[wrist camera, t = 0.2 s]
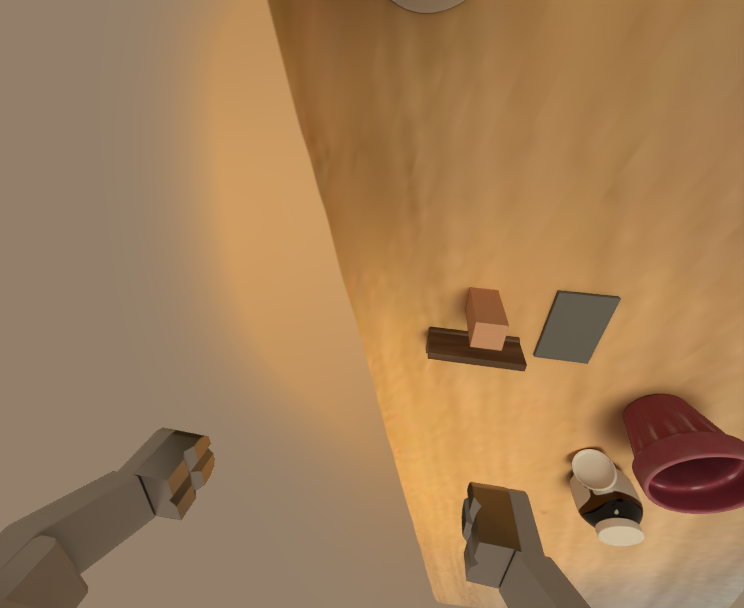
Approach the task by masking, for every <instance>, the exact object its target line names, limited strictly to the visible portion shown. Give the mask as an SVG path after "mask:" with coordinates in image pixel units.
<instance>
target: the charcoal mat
mask: <svg viewBox="0 0 744 608" xmlns="http://www.w3.org/2000/svg"><path fill="white" fill-rule="evenodd" d="M620 300H621V298H620V297H618V296H608V295H598V294H588V293H579V292H569V291H559V290H558V292H557V294H556V297H555V300H554V302H553V305H552V307H551V310H550V313H549V315H548V318H547V320H546V323H545V326H544V328H543V331H542V333H541V336H540V339H539V341H538V344H537V346H536V349H535V352H534V354H533V355H534V357H539V358H547V359H555V360H563V361H571V362H579V363H586V364H588V362H589V360H590V358H591V356H592V354H593V352H594V350H595V348H596V346H597V344H598V342H599V341H600V339H601V337H602V335H603V333H604V331H605V329H606V327H607V325H608V323H609V321H610V319H611V317H612V315H613V313H614V311H615V309H616V307H617V305H618V303H619V301H620Z"/></svg>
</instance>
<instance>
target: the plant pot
mask: <svg viewBox="0 0 744 608" xmlns="http://www.w3.org/2000/svg"><path fill="white" fill-rule="evenodd" d="M624 421H625V425H626V428H627V432H628V436H629V439H630V443H631V447H632V451H633V454H634V460H633V463H632V469H633V473H634V475H635V477H636V479H637V481H638V482H639V484H640V486H641V488H642V490H643V491H644V493H645V495H646V496H647V497H648V498H649V499H650V500H651V501H652V502H653V503H655V504H656V505H658V506H660V507H663V508H665V509H668V510H671V511H676V512H681V513H690V514H710V513H718V512H725V511H730V510H734V509H737V508H740V507H743V506H744V442H743V441H742V440H740V439H738V438H736V437H733V436H731V435H727V434H725V433H724V432H723V431H722V430H721V429H719V428H718V427H717V426H716V425H714V424H713V423H712V422H711V421H709V420H708V419H707V418H705V417H704V416H703V415H702V414H700V413H699V412H698V411H696V410H695V409H694V408H693V407H691V406H690V405H689V404H687V403H686V402H685V401H684V400H682V399H681V398H679V397H676V396H673V395H668V394H656V395H650V396H646V397H643V398H640V399H638V400H636V401H634V402H633V403H631V404H630V405H629V406H628V407H627V408H626V410H625V412H624Z"/></svg>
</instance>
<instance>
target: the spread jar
mask: <svg viewBox="0 0 744 608" xmlns="http://www.w3.org/2000/svg"><path fill="white" fill-rule="evenodd" d="M572 470H573V473H572V476H571V479H570V488H571V492H572V496H573V499H574V502H575V504H576V507H577V509H578V512H579V513H580V515H581V517H582V518H583V519H584V520H585V521H586V522H588V523H589V524H590V525H591V526H593V527H594V528H595V530H596V533H597V535H598V538H599V539H600V540H601V541H602V542H604V543H606V544H609V545H613V546H631V545H635V544H638V543H640V542H641V541H642V540H643V539H644V534H643V531H642V529H641V527H640V525H639V524H640V522H641V520H642V517H643V507H642V503H641V501H640V499H639V496H638V494H637V492H636V490H635V488H634V486H633V484H632V483H631V481H630V479H629V478H628V477H627V476H626V475H625V474H624V473H623V472H622V471H621V470H619V469H618V468H616V467H615V465H614V464H613V462H612V461H611V460H610V459H609V458H608V457H607V456H606V455H605V454H603V453H602V452H600V451H597V450H594V449H585V450H581V451H579V452H578V453H577V454H576V455H575V456H574V458H573V460H572Z"/></svg>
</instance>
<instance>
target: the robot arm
mask: <svg viewBox="0 0 744 608" xmlns="http://www.w3.org/2000/svg"><path fill="white" fill-rule="evenodd" d="M392 1H393V2H395V3H396V4H398V5H399V6H401V7H403V8H405V9H408V10H410V11H414V12H419V13H434V12H440V11H444V10H447V9H449V8H452V7H454V6H456V5H458V4H460V3H461V2H463V1H464V0H392ZM210 444H211V442H210V439H209V437H208V436H204V435H199V434H194V433H189V432H184V431H179V430H174V429H168V428H161V429H159V430H157V431H156V432H155V433H154V434H153V435H152V436H151V437H150V438H149V439H148V440H147V442H145V443H144V445H143V446H142V447H141V448H140V449H139V450H138V451H137V452H136V453H135V454H134V455H133V456H132V457H131V458H130V459H129V460H128V461H127V462H126V463H125V464H124V465H123V466H122V468H121V469H120V470H119V471H118V472H116V471H112V472H110V473H108V474H106V475H104V476H103V477H101V478H99V479H97V480H95V481H93V482H91V483H89V484H87V485H86V486H83V487H81V488H79V489H77V490H76V491H74V492H72V493H70V494H68V495H66V496H64V497H62V498H60V499H58V500H56V501H54V502H53V503H51V504H49V505H47V506H45V507H43V508H41V509H39V510H37V511H35V512H33V513H31V514H29V515H27V516H25V517H23V518H22V519H20V520H18V521H16V522H14V523H12V524H10V525H9V526H7V527H6V528H5V529H4V530H3V531H2V532H1V533H0V608H77V606H78V605H79V604H80V602H81V601H82V600H83V598H84V597H85V596H86V594H87V593H88V586H87V584H86V583H85V581H84V580H83V578H82V577H81V575H80V574H81V573H82V572H84V571H85V570H86V569H88V568H89V567H90V566H92V565H93V564H94V563H95V562H97V561H98V560H99V559H101V558H102V557H103V556H105V555H106V554H107V553H109V552H110V551H111V550H113V549H114V548H115V547H116V546H118V545H119V544H120V543H122V542H123V541H124V540H126V539H127V538H128V537H130V536H131V535H132V534H134V533H135V532H136V531H138V530H139V529H140V528H142V527H143V526H144V525H146V524H147V523H148V522H149V521H151V520H152V519H153V518H154V517H155V516H160V517H165V518H171V519H177V520H182V518H183V517H184V515H185V514H186V512H187V511H188V509H189V508H190V506H191V505H192V503H193V502H194V500H195V499H196V490H198V489H199V488H201V487H202V486H204V485H205V484H206V482H207V481H208V479H209V477H210V476H211V473H212V470H213V467H214V461H215V458H214V454H213V453H212V452H211V451H210V450H209V449H208V447H209V446H210ZM467 493H468V498H466V499H464V503H463V508H462V535H463V537H464V538H465V540H466V541H467V544H466V547H465V551H464V560H465V571H466V581H469V582H473V583H477V584H482V585H486V586H490V587H494V588H498V589H499V592H500V594H501V596H502V598H503V599H504V601H505V603H506V605H507V607H508V608H590V606H589V605H588V604H587V603H586V601H585V600H584V599H583V597H582V596H581V595H580V594H579V592H578V591H577V590H576V589H575V587H574V586H573V585H572V584H571V582H570V581H569V580H568V579H567V577H566V576H565V575H564V574H563V572H562V571H561V570H560V569H559V567H558V566H557V565H556V564H555V562H554V561H553V560H552V559H551V558H550V557H546V556H545V555H544V552H543V548H542V545H541V541H540V538H539V534H538V530H537V527H536V523H535V520H534V516H533V512H532V509H531V505H530V502H529V498H528V495H527V494H526V492H525V491H521V490H514V489H508V488H505V487H499V486H493V485H487V484H481V483H474V482H470V483H469V485H468V488H467Z"/></svg>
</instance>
